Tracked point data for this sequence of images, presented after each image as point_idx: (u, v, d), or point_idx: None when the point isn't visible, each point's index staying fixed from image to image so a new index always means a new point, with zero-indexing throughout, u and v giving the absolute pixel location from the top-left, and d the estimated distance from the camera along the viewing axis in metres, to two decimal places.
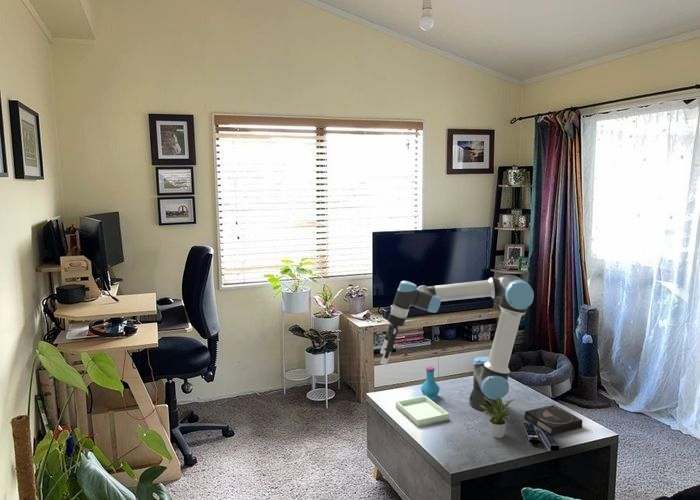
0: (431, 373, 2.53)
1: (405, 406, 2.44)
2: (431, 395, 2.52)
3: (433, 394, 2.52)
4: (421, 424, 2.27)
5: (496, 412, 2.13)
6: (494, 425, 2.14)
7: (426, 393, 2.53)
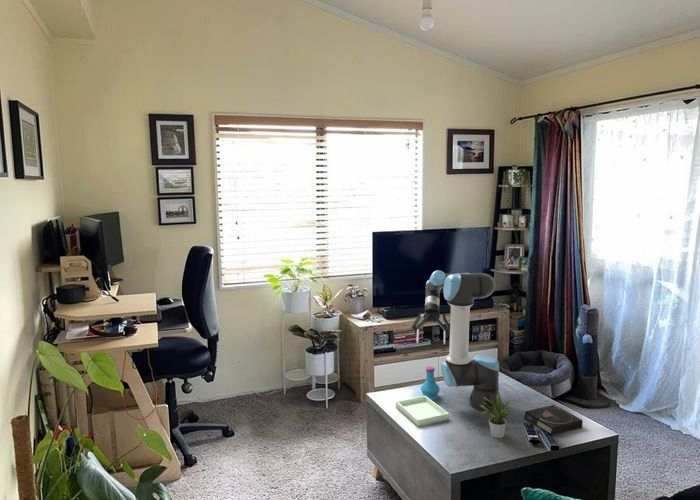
0: (431, 373, 2.53)
1: (405, 406, 2.44)
2: (431, 395, 2.52)
3: (433, 394, 2.52)
4: (421, 424, 2.27)
5: (496, 412, 2.13)
6: (494, 425, 2.14)
7: (426, 393, 2.53)
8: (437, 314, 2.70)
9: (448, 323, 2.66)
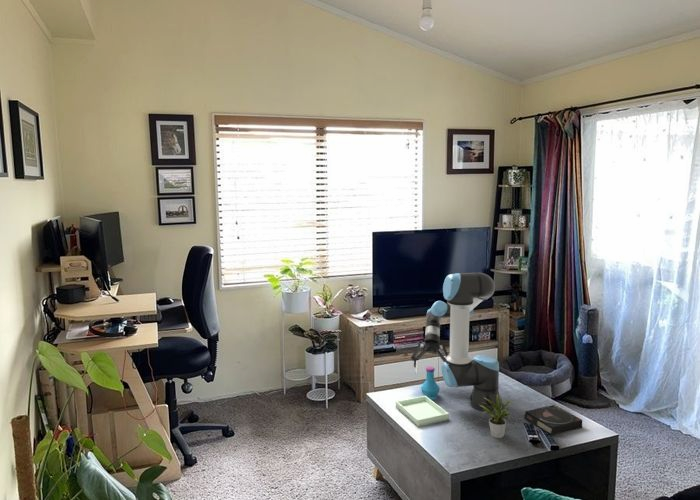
0: (431, 373, 2.53)
1: (405, 406, 2.44)
2: (431, 395, 2.52)
3: (433, 394, 2.52)
4: (421, 424, 2.27)
5: (496, 412, 2.13)
6: (494, 425, 2.14)
7: (426, 393, 2.53)
8: (437, 345, 2.68)
9: None
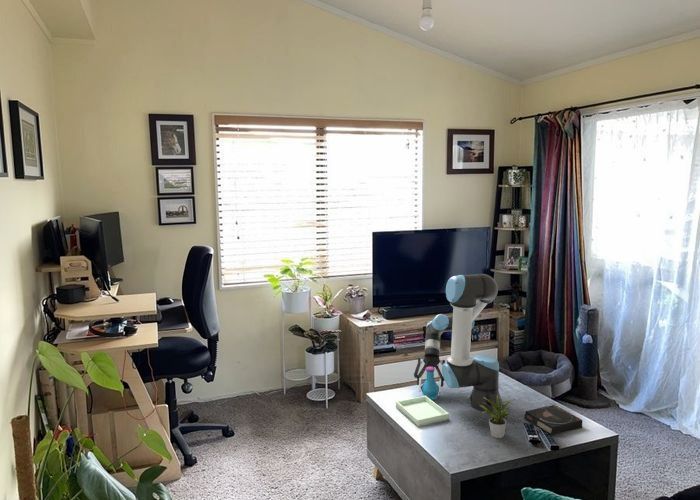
0: (431, 373, 2.53)
1: (405, 406, 2.44)
2: (431, 395, 2.52)
3: (433, 394, 2.52)
4: (421, 424, 2.27)
5: (496, 412, 2.13)
6: (494, 425, 2.14)
7: (426, 393, 2.53)
8: (437, 359, 2.61)
9: None
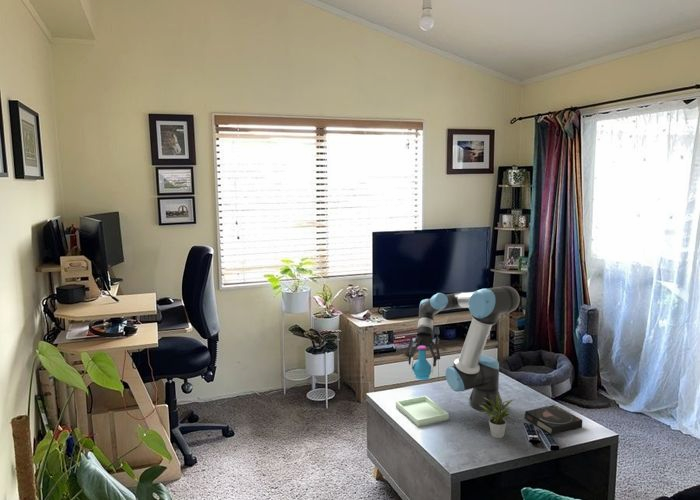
0: (423, 352, 2.43)
1: (405, 406, 2.44)
2: (423, 375, 2.42)
3: (425, 374, 2.42)
4: (421, 424, 2.27)
5: (496, 412, 2.13)
6: (494, 425, 2.14)
7: (418, 373, 2.43)
8: (430, 338, 2.51)
9: (438, 350, 2.46)
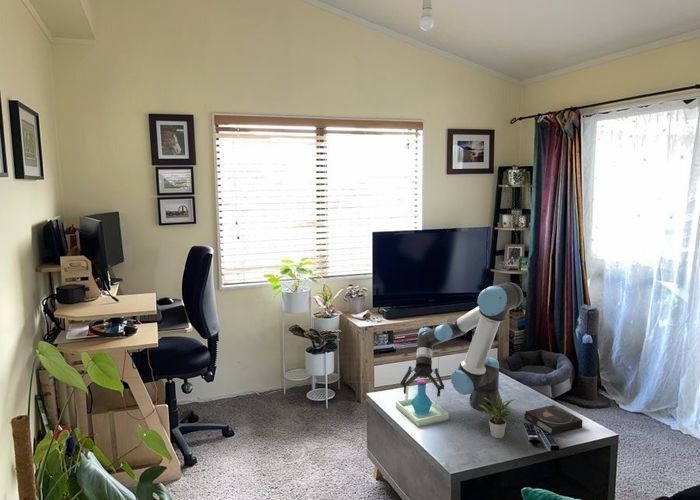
0: (423, 386, 2.35)
1: (405, 406, 2.44)
2: (422, 410, 2.34)
3: (425, 409, 2.34)
4: (421, 424, 2.27)
5: (496, 412, 2.13)
6: (494, 425, 2.14)
7: (417, 408, 2.35)
8: (429, 368, 2.43)
9: (441, 380, 2.39)
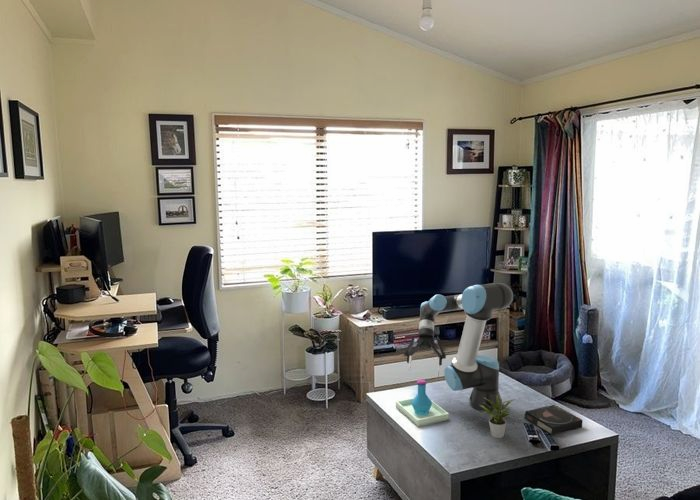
0: (423, 387, 2.35)
1: (405, 406, 2.44)
2: (422, 410, 2.34)
3: (425, 409, 2.34)
4: (421, 424, 2.27)
5: (496, 412, 2.13)
6: (494, 425, 2.14)
7: (417, 408, 2.35)
8: (431, 339, 2.54)
9: None
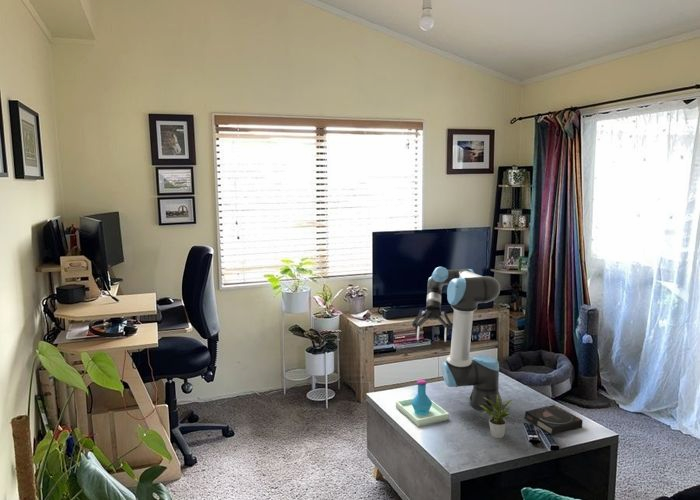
0: (423, 386, 2.35)
1: (405, 406, 2.44)
2: (422, 410, 2.34)
3: (425, 409, 2.34)
4: (421, 424, 2.27)
5: (496, 412, 2.13)
6: (494, 425, 2.14)
7: (417, 408, 2.35)
8: (438, 311, 2.65)
9: (449, 320, 2.61)
